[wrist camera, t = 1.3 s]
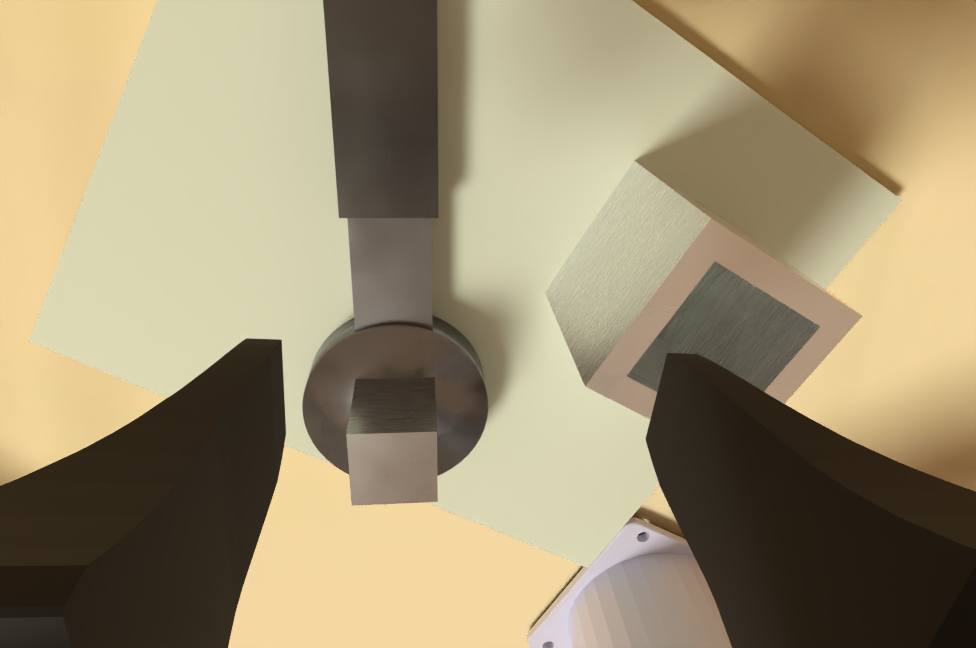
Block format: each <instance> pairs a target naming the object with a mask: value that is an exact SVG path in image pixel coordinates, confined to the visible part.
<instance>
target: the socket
mask: <svg viewBox="0 0 976 648" xmlns="http://www.w3.org/2000/svg"><path fill="white" fill-rule="evenodd" d="M545 294H546V297H547V299H548V301H549V304H550V306H551V308H552V311H553V313H554V315H555V318H556V320H557V322H558V325H559V327H560V329H561V332H562V334H563V336H564V339H565V341H566V343H567V346H568V348H569V350H570V353H571V355H572V357H573V360H574V362H575V364H576V367H577V369H578V371H579V374H580V376H581V378H582V381H583V383H584V385H585V387H587V388H589V389H591V390H593V391H595V392H597V393H599V394H601V395H603V396H605V397H607V398H609V399H611V400H613V401H615V402H617V403H619V404H621V405H622V406H624V407H626V408H628V409H630V410H632V411H634V412H636V413H638V414H640V415H642V416H644V417H646V418H648V419H651V415H652V411H653V407H654V403H655V399H656V395H657V391H658V387H659V383H660V379H661V375H662V371H663V367H664V363H665V359H666V355H667V353H683V354H698V355H701V356H703V357H705V358H707V359H709V360H711V361H713V362H715V363H717V364H718V365H720V366H722V367H724V368H725V369H727V370H729V371H731V372H732V373H734V374H736V375H737V376H739V377H741V378H742V379H744V380H745V381H747V382H749V383H750V384H752V385H754V386H755V387H757V388H759V389H760V390H762V391H764V392H765V393H767V394H769V395H770V396H772V397H774V398H775V399H777V400H778V401H780V402H782V403H784V404H785V402H786V401H787V400H788V399H789V398H790V397H791V396H792V395H793V393H794V392H795V391H796V390H797V389H798V388H799V387H800V386H801V384H802V383H803V382H804V381H805V380H806V379H807V378H808V377H809V375H810V374H811V373H812V372H813V371H814V370H815V369H816V368H817V366H818V365H819V364H820V363H821V362H822V361H823V360H824V359H825V357H826V356H827V355H828V354H829V353H830V352H831V351H832V350H833V348H834V347H835V346H836V345H837V344H838V343H839V342H840V341H841V340H842V338H843V337H844V336H845V335H846V334H847V333H848V332H849V331H850V329H851V328H852V327H853V326H854V325H855V324H856V323H857V322H858V320H859V319H860V318H861V317H862V315H860V314H859V313H858V312H856V311H855V310H853V309H852V308H851V307H849V306H848V305H846V304H845V303H844V302H842V301H841V300H839V299H838V298H837V297H835V296H834V295H832V294H831V293H830V292H828V291H827V290H825V289H824V288H823V287H821V286H820V285H818V284H817V283H816V282H814V281H813V280H811V279H810V278H809V277H807V276H806V275H805V274H803V273H802V272H800V271H799V270H798V269H796V268H795V267H793V266H792V265H791V264H789V263H788V262H786V261H785V260H784V259H782V258H781V257H779V256H778V255H777V254H775V253H774V252H772V251H771V250H770V249H768V248H767V247H765V246H764V245H763V244H761V243H760V242H758V241H757V240H756V239H754V238H753V237H751V236H750V235H748V234H747V233H745V232H743V231H742V230H740V229H739V228H737V227H736V226H734V225H733V224H731V223H730V222H728V221H727V220H725V219H723V218H722V217H720V216H719V215H717V214H716V213H714V212H713V211H711V210H710V209H708V208H707V207H705V206H703V205H702V204H700V203H699V202H697V201H696V200H694V199H693V198H691V197H690V196H688V195H686V194H685V193H683V192H682V191H680V190H679V189H677V188H676V187H674V186H673V185H671V184H670V183H668V182H666V181H665V180H663V179H662V178H660V177H659V176H657V175H656V174H654V173H653V172H651V171H650V170H648V169H646V168H645V167H643V166H642V165H640V164H639V163H637V162H636V161H634V162H633V163H632V165H631V166H630V168H629V169H628V171H627V172H626V174H625V175H624V177H623V178H622V180H621V181H620V182H619V184H618V185H617V187H616V188H615V190H614V191H613V193H612V194H611V196H610V197H609V199H608V200H607V201H606V203H605V204H604V206H603V207H602V209H601V210H600V212H599V213H598V215H597V216H596V218H595V219H594V221H593V222H592V223H591V225H590V226H589V228H588V229H587V231H586V232H585V234H584V235H583V237H582V238H581V240H580V241H579V243H578V244H577V245H576V247H575V248H574V250H573V251H572V253H571V254H570V256H569V257H568V259H567V260H566V262H565V263H564V264H563V266H562V267H561V269H560V270H559V272H558V273H557V275H556V276H555V278H554V279H553V281H552V282H551V284H550V285H549V286H548V288H547V289H546V291H545Z"/></svg>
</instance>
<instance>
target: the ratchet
mask: <svg viewBox="0 0 976 648" xmlns="http://www.w3.org/2000/svg"><path fill="white" fill-rule="evenodd" d="M323 7H324V21H325V34H326V48H327V62H328V75H329V89H330V103H331V117H332V130H333V144H334V158H335V171H336V185H337V199H338V213H339V218H347V220H348V235H349V250H350V265H351V280H352V295H353V310H354V318H353V319H351V320H349V321H347V322H346V323H344V324H343V325H341V326H339V327H338V328H337V329H336V330H335V331H334V332H332V333H331V334H330V335H329V336H328V337H327V339H326V340H325V341H324V342H323V343H322V345H321V347H320V348H319V350H318V351H317V353H316V355H315V358H314V360H313V363H312V366H311V370H310V373H309V377H308V380H307V383H306V387H305V390H304V394H303V402H302V410H303V419H304V424H305V427H306V430H307V432H308V435H309V437H310V438H311V440H312V442H313V444H314V445H315V447H316V448H317V449H318V451H319V452H320V453H321V454H322V455H323V456H324V457H325V458H326V459H327V460H328V461H329V462H331V463H332V464H333V465H334V466H336V467H337V468H339V469H340V470H342V471H344V472H345V473H348V474H349V476H350V488H351V501H352V505H372V504H396V503H420V502H438V483H437V476H439V475H441V474H443V473H445V472H447V471H448V470H450V469H452V468H453V467H455V466H456V465H457V464H459V463H460V462H461V461H462V460H463V459H464V458H466V457H467V456H468V455H469V454H470V452H471V451H472V450H473V449H474V447H475V446H476V444H477V443H478V441H479V439H480V438H481V436H482V433H483V431H484V429H485V425H486V421H487V416H488V397H487V391H486V385H485V379H484V374H483V369H482V365H481V362H480V359H479V357H478V355H477V353H476V351H475V349H474V347H473V346H472V345H471V343H470V342H469V341H468V339H467V338H466V337H465V336H464V335H463V334H462V333H461V332H460V331H459V330H457V329H456V328H455V327H453V326H452V325H451V324H449V323H447V322H446V321H444V320H442V319H440V318H438V317H436V316H433V315H432V229H431V218H439V210H438V45H437V0H323Z"/></svg>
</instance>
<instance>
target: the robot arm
mask: <svg viewBox="0 0 976 648" xmlns="http://www.w3.org/2000/svg"><path fill="white" fill-rule="evenodd" d="M285 437H286V422H285V401H284V379H283V358H282V340H280V339H251V338H246V339H245V340H243V341H242V342H240V343H239V344H238V345H237V346H235V347H234V348H233V349H231V350H230V351H229V352H228V353H226V354H225V355H224V356H223V357H222V358H220V359H219V360H218V361H217V362H215V363H214V364H213V365H211V366H210V367H209V368H208V369H206V370H205V371H204V372H202V373H201V374H200V375H198V376H197V377H196V378H195V379H193V380H192V381H191V382H189V383H188V384H187V385H185V386H184V387H183V388H181V389H180V390H179V391H177V392H176V393H174V394H173V395H171V396H170V397H168V398H167V399H165V400H164V401H162V402H161V403H159V404H158V405H156V406H155V407H153V408H152V409H151V410H149V411H148V412H146V413H145V414H143V415H142V416H140V417H139V418H137V419H135V420H134V421H132V422H131V423H129V424H127V425H126V426H124V427H122V428H120V429H119V430H117V431H115V432H114V433H112V434H110V435H108V436H106V437H104V438H103V439H101V440H99V441H97V442H95V443H93V444H92V445H90V446H88V447H86V448H84V449H82V450H80V451H78V452H76V453H74V454H72V455H70V456H67V457H65V458H63V459H61V460H59V461H56V462H54V463H52V464H50V465H48V466H45V467H43V468H41V469H39V470H37V471H34V472H32V473H30V474H28V475H26V476H23V477H21V478H19V479H17V480H14V481H12V482H9V483H7V484H4V485H2V486H0V648H228V644H229V639H230V635H231V630H232V626H233V621H234V616H235V612H236V608H237V605H238V601H239V598H240V594H241V591H242V587H243V584H244V581H245V578H246V575H247V572H248V569H249V566H250V563H251V560H252V557H253V554H254V551H255V548H256V545H257V542H258V539H259V536H260V533H261V530H262V527H263V524H264V521H265V518H266V515H267V512H268V509H269V505H270V502H271V499H272V496H273V493H274V490H275V487H276V484H277V480H278V475H279V470H280V465H281V460H282V454H283V448H284V442H285ZM645 440H646V443H647V447H648V450H649V454H650V457H651V460H652V464H653V467H654V470H655V473H656V476H657V479H658V482H659V484H660V487H661V489H662V491H663V493H664V495H665V497H666V500H667V502H668V504H669V506H670V508H671V510H672V512H673V514H674V516H675V518H676V520H677V522H678V524H679V526H680V528H681V531H682V533H683V535H684V537H685V539H684V538H682V537H679V536H677V535H675V534H673V533H670V532H668V531H666V530H664V529H661V528H659V527H657V526H655V525H652V524H650V523H648V522H646V521H644V520H641V519H639V518H635V517H631V518H630V519H629V521H628V522H627V523H626V524H625V525H624V526H623V528H622V529H621V530H620V531H619V532H618V533H617V535H616V536H615V537H614V538H613V539H612V540H611V542H610V543H609V544H608V545H607V546H606V547H605V549H604V550H603V551H602V552H601V553H600V555H599V556H598V557H597V558H596V559H595V560H594V562H593V563H592V564H591V565H590V566H589V567H588V568H586V567H583V568H582V569H581V571H580V572H579V573H578V574H577V575H576V577H575V578H574V579H573V580H572V581H571V582H570V584H569V585H568V586H567V587H566V588H565V589H564V591H563V592H562V593H561V594H560V595H559V597H558V598H557V599H556V600H555V601H554V602H553V604H552V605H551V606H550V607H549V608H548V610H547V611H546V612H545V613H544V614H543V615H542V617H541V618H540V619H539V620H538V621H537V622H536V624H535V625H534V626H533V627H532V628H531V630H530V631H529V632H528V634H527V643H528V645H529V647H531V648H976V492H975V491H972V490H969V489H966V488H963V487H960V486H958V485H955V484H952V483H950V482H947V481H944V480H942V479H939V478H937V477H934V476H931V475H929V474H926V473H923V472H921V471H918V470H916V469H913V468H911V467H909V466H906V465H904V464H901V463H899V462H897V461H894V460H892V459H890V458H888V457H885V456H883V455H881V454H879V453H877V452H875V451H872V450H870V449H868V448H866V447H864V446H862V445H859V444H857V443H855V442H853V441H851V440H849V439H847V438H845V437H843V436H841V435H839V434H837V433H835V432H834V431H832V430H830V429H828V428H826V427H824V426H823V425H821V424H819V423H817V422H815V421H813V420H811V419H810V418H808V417H806V416H804V415H803V414H801V413H799V412H797V411H796V410H794V409H792V408H790V407H789V406H787V405H785V404H784V403H782V402H780V401H778V400H777V399H775V398H774V397H772V396H770V395H769V394H767V393H765V392H764V391H762V390H760V389H759V388H757V387H755V386H754V385H752V384H750V383H749V382H747V381H745V380H744V379H742V378H741V377H739V376H737V375H736V374H734V373H732V372H731V371H729V370H727V369H725V368H724V367H722V366H720V365H718V364H717V363H715V362H713V361H711V360H709V359H707V358H705V357H703V356H701V355H698V354H683V353H667V355H666V359H665V363H664V367H663V371H662V375H661V379H660V383H659V387H658V391H657V395H656V399H655V403H654V407H653V411H652V415H651V419H650V423H649V427H648V431H647V435H646V439H645ZM642 532H645V533H644V534H642V535H638V534H640V533H642ZM548 641H549V642H548Z"/></svg>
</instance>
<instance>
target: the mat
mask: <svg viewBox="0 0 976 648" xmlns="http://www.w3.org/2000/svg"><path fill="white" fill-rule="evenodd" d="M437 45H438V210H439V218H431V229H432V315H433V316H436V317H438V318H440V319H442V320H444V321H446V322H447V323H449V324H451V325H452V326H453V327H455V328H456V329H457V330H459V331H460V332H461V333H462V334H463V335H464V336H465V337H466V338H467V339H468V341H469V342H470V343H471V345H472V346H473V347H474V349H475V351H476V353H477V355H478V357H479V359H480V362H481V365H482V369H483V374H484V379H485V385H486V391H487V397H488V416H487V421H486V425H485V429H484V431H483V433H482V436H481V438H480V439H479V441H478V443H477V444H476V446H475V447H474V449H473V450H472V451H471V452H470V454H469V455H468V456H467V457H466V458H464V459H463V460H462V461H461V462H460V463H459V464H457V465H456V466H455V467H453V468H452V469H450V470H448V471H447V472H445V473H443V474H441V475H439V476H437V483H438V502H426V503H428V504H431V505H433V506H436V507H438V508H441V509H443V510H445V511H448V512H450V513H453V514H455V515H458V516H460V517H463V518H465V519H468V520H470V521H473V522H475V523H477V524H480V525H482V526H485V527H487V528H490V529H492V530H495V531H497V532H500V533H502V534H505V535H507V536H510V537H512V538H514V539H517V540H519V541H522V542H524V543H527V544H529V545H532V546H534V547H537V548H539V549H542V550H544V551H547V552H549V553H551V554H554V555H556V556H559V557H561V558H564V559H566V560H569V561H571V562H574V563H576V564H579V565H581V566H583V567H586V568H588V567H589V566H590V565H591V564H592V563H593V562H594V560H595V559H596V558H597V557H598V556H599V555H600V553H601V552H602V551H603V550H604V549H605V547H606V546H607V545H608V544H609V543H610V542H611V540H612V539H613V538H614V537H615V536H616V535H617V533H618V532H619V531H620V530H621V529H622V528H623V526H624V525H625V524H626V523H627V522H628V521H629V519H630V518H631V517H632V516H633V515H634V513H635V512H636V511H637V510H638V509H639V508H640V506H641V505H642V504H643V503H644V502H645V501H646V499H647V498H648V497H649V496H650V495H651V494H652V492H653V491H654V490H655V489H656V488H657V487H658V485H659V482H658V479H657V476H656V473H655V470H654V467H653V464H652V460H651V457H650V454H649V450H648V447H647V443H646V440H645V439H646V435H647V431H648V427H649V423H650V419H648V418H646V417H644V416H642V415H640V414H638V413H636V412H634V411H632V410H630V409H628V408H626V407H624V406H622V405H621V404H619V403H617V402H615V401H613V400H611V399H609V398H607V397H605V396H603V395H601V394H599V393H597V392H595V391H593V390H591V389H589V388H587V387H585V385H584V383H583V381H582V378H581V376H580V374H579V371H578V369H577V367H576V364H575V362H574V360H573V357H572V355H571V353H570V350H569V348H568V346H567V343H566V341H565V339H564V336H563V334H562V332H561V329H560V327H559V325H558V322H557V320H556V318H555V315H554V313H553V311H552V308H551V306H550V304H549V301H548V299H547V297H546V294H545V291H546V289H547V288H548V286H549V285H550V284H551V282H552V281H553V279H554V278H555V276H556V275H557V273H558V272H559V270H560V269H561V267H562V266H563V264H564V263H565V262H566V260H567V259H568V257H569V256H570V254H571V253H572V251H573V250H574V248H575V247H576V245H577V244H578V243H579V241H580V240H581V238H582V237H583V235H584V234H585V232H586V231H587V229H588V228H589V226H590V225H591V223H592V222H593V221H594V219H595V218H596V216H597V215H598V213H599V212H600V210H601V209H602V207H603V206H604V204H605V203H606V201H607V200H608V199H609V197H610V196H611V194H612V193H613V191H614V190H615V188H616V187H617V185H618V184H619V182H620V181H621V180H622V178H623V177H624V175H625V174H626V172H627V171H628V169H629V168H630V166H631V165H632V163H633V162H634V161H636V162H637V163H639V164H640V165H642V166H643V167H645V168H646V169H648V170H650V171H651V172H653V173H654V174H656V175H657V176H659V177H660V178H662V179H663V180H665V181H666V182H668V183H670V184H671V185H673V186H674V187H676V188H677V189H679V190H680V191H682V192H683V193H685V194H686V195H688V196H690V197H691V198H693V199H694V200H696V201H697V202H699V203H700V204H702V205H703V206H705V207H707V208H708V209H710V210H711V211H713V212H714V213H716V214H717V215H719V216H720V217H722V218H723V219H725V220H727V221H728V222H730V223H731V224H733V225H734V226H736V227H737V228H739V229H740V230H742V231H743V232H745V233H747V234H748V235H750V236H751V237H753V238H754V239H756V240H757V241H758V242H760V243H761V244H763V245H764V246H765V247H767V248H768V249H770V250H771V251H772V252H774V253H775V254H777V255H778V256H779V257H781V258H782V259H784V260H785V261H786V262H788V263H789V264H791V265H792V266H793V267H795V268H796V269H798V270H799V271H800V272H802V273H803V274H805V275H806V276H807V277H809V278H810V279H811V280H813V281H814V282H816V283H817V284H818V285H820V286H821V287H823V288H824V289H825V290H826V289H827V287H828V286H829V285H830V284H831V283H832V281H833V280H834V279H835V278H836V277H837V276H838V274H839V273H840V272H841V271H842V270H843V269H844V267H845V266H846V265H847V264H848V263H849V262H850V260H851V259H852V258H853V257H854V256H855V255H856V253H857V252H858V251H859V250H860V249H861V247H862V246H863V245H864V244H865V243H866V242H867V240H868V239H869V238H870V237H871V236H872V235H873V233H874V232H875V231H876V230H877V229H878V228H879V226H880V225H881V224H882V223H883V222H884V221H885V219H886V218H887V217H888V216H889V215H890V214H891V212H892V211H893V210H894V209H895V208H896V206H897V205H898V204H899V203H900V202H901V201H902V200H901V199H900V198H899V197H897V196H896V195H894V194H893V193H892V192H890V191H889V190H888V189H886V188H885V187H884V186H882V185H881V184H880V183H878V182H877V181H876V180H874V179H873V178H872V177H870V176H869V175H867V174H866V173H865V172H863V171H862V170H861V169H859V168H858V167H857V166H855V165H854V164H853V163H851V162H850V161H849V160H847V159H846V158H844V157H843V156H842V155H840V154H839V153H838V152H836V151H835V150H834V149H832V148H831V147H830V146H828V145H827V144H826V143H824V142H823V141H822V140H820V139H819V138H817V137H816V136H815V135H813V134H812V133H811V132H809V131H808V130H807V129H805V128H804V127H803V126H801V125H800V124H799V123H797V122H796V121H795V120H793V119H792V118H790V117H789V116H788V115H786V114H785V113H784V112H782V111H781V110H780V109H778V108H777V107H776V106H774V105H773V104H772V103H770V102H769V101H767V100H766V99H765V98H763V97H762V96H761V95H759V94H758V93H757V92H755V91H754V90H753V89H751V88H750V87H749V86H747V85H746V84H745V83H743V82H742V81H740V80H739V79H738V78H736V77H735V76H734V75H732V74H731V73H730V72H728V71H727V70H726V69H724V68H723V67H722V66H720V65H719V64H717V63H716V62H715V61H713V60H712V59H711V58H709V57H708V56H707V55H705V54H704V53H703V52H701V51H700V50H699V49H697V48H696V47H695V46H693V45H692V44H690V43H689V42H688V41H686V40H685V39H684V38H682V37H681V36H680V35H678V34H677V33H676V32H674V31H673V30H672V29H670V28H669V27H667V26H666V25H665V24H663V23H662V22H661V21H659V20H658V19H657V18H655V17H654V16H653V15H651V14H650V13H649V12H647V11H646V10H645V9H643V8H642V7H640V6H639V5H638V4H636V3H635V2H634V1H632V0H437ZM353 318H354V310H353V295H352V280H351V265H350V250H349V235H348V220H347V218H339V213H338V199H337V185H336V171H335V158H334V144H333V130H332V117H331V103H330V89H329V75H328V62H327V48H326V34H325V21H324V7H323V0H157V3H156V6H155V8H154V11H153V14H152V16H151V19H150V22H149V24H148V27H147V30H146V32H145V35H144V38H143V40H142V43H141V45H140V48H139V51H138V53H137V56H136V59H135V61H134V64H133V67H132V69H131V72H130V75H129V77H128V80H127V83H126V85H125V88H124V90H123V93H122V96H121V98H120V101H119V104H118V106H117V109H116V112H115V114H114V117H113V120H112V122H111V125H110V128H109V130H108V133H107V135H106V138H105V141H104V143H103V146H102V149H101V151H100V154H99V157H98V159H97V162H96V165H95V167H94V170H93V173H92V175H91V178H90V181H89V183H88V186H87V188H86V191H85V194H84V196H83V199H82V202H81V204H80V207H79V210H78V212H77V215H76V218H75V220H74V223H73V226H72V228H71V231H70V233H69V236H68V239H67V241H66V244H65V247H64V249H63V252H62V255H61V257H60V260H59V263H58V265H57V268H56V271H55V273H54V276H53V278H52V281H51V284H50V286H49V289H48V292H47V294H46V297H45V300H44V302H43V305H42V308H41V310H40V313H39V316H38V318H37V321H36V323H35V326H34V329H33V331H32V334H31V337H30V339H29V342H31V343H34V344H36V345H39V346H41V347H44V348H46V349H49V350H51V351H54V352H56V353H58V354H61V355H63V356H66V357H68V358H71V359H73V360H76V361H78V362H81V363H83V364H86V365H88V366H90V367H93V368H95V369H98V370H100V371H103V372H105V373H108V374H110V375H113V376H115V377H118V378H120V379H123V380H125V381H127V382H130V383H132V384H135V385H137V386H140V387H142V388H145V389H147V390H150V391H152V392H155V393H157V394H160V395H162V396H164V397H167V398H168V397H170V396H171V395H173V394H174V393H176V392H177V391H179V390H180V389H181V388H183V387H184V386H185V385H187V384H188V383H189V382H191V381H192V380H193V379H195V378H196V377H197V376H198V375H200V374H201V373H202V372H204V371H205V370H206V369H208V368H209V367H210V366H211V365H213V364H214V363H215V362H217V361H218V360H219V359H220V358H222V357H223V356H224V355H225V354H226V353H228V352H229V351H230V350H231V349H233V348H234V347H235V346H237V345H238V344H239V343H240V342H242V341H243V340H245V339H246V338H251V339H280V340H282V358H283V379H284V401H285V422H286V437H285V442H284V445H285V446H288V447H290V448H293V449H295V450H298V451H300V452H302V453H305V454H307V455H310V456H312V457H315V458H317V459H320V460H322V461H325V462H327V463H330V464H332V463H331V462H329V461H328V460H327V459H326V458H325V457H324V456H323V455H322V454H321V453H320V452H319V451H318V449H317V448H316V447H315V445H314V444H313V442H312V440H311V438H310V437H309V435H308V432H307V430H306V427H305V424H304V419H303V410H302V402H303V394H304V390H305V387H306V383H307V380H308V377H309V373H310V370H311V366H312V363H313V360H314V358H315V355H316V353H317V351H318V350H319V348H320V347H321V345H322V343H323V342H324V341H325V340H326V339H327V337H328V336H329V335H330V334H331V333H332V332H334V331H335V330H336V329H337V328H338V327H339V326H341V325H343V324H344V323H346V322H347V321H349V320H351V319H353ZM332 465H333V464H332Z"/></svg>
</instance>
